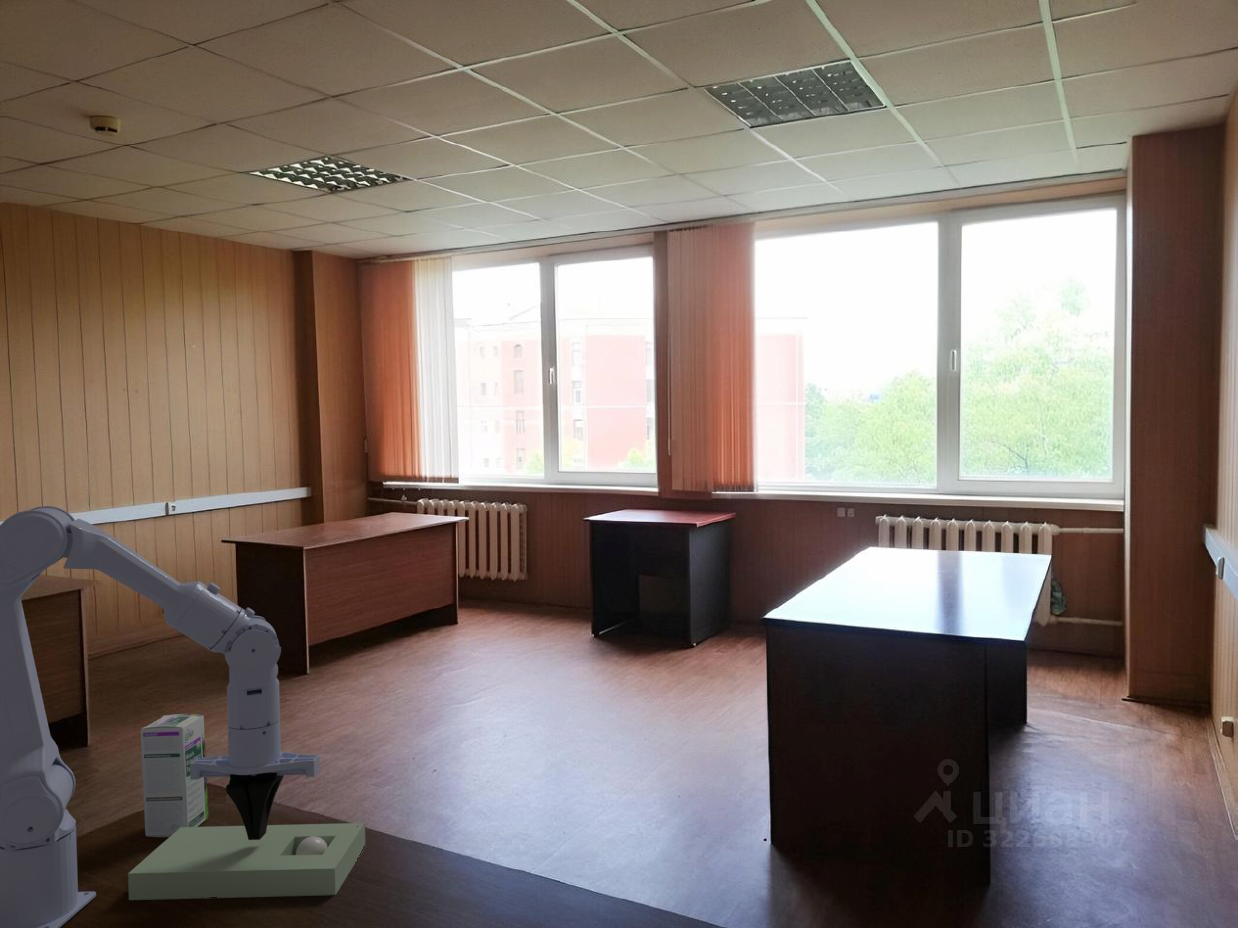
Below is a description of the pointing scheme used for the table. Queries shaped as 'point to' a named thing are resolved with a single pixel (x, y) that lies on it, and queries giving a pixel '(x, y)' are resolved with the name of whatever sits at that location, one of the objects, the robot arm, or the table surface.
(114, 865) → the table surface
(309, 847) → the ball
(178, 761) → the syrup box
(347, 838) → the green board
